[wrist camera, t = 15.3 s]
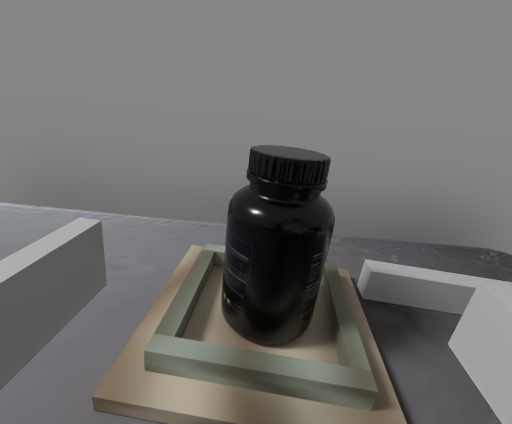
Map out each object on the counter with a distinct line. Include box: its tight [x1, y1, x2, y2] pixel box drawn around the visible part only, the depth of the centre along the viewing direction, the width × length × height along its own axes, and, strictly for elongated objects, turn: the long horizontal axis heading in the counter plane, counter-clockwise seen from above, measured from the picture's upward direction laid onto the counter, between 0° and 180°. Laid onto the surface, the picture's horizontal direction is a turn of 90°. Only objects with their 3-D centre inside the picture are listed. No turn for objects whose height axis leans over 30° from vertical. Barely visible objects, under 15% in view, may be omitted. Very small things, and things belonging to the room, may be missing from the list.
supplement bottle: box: [221, 145, 335, 345], centre depth 19 cm, size 7×7×12 cm
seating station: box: [92, 243, 407, 424], centre depth 21 cm, size 16×16×2 cm
